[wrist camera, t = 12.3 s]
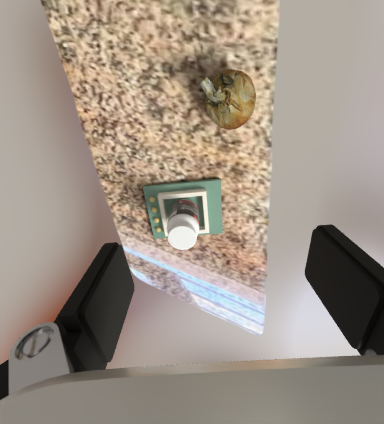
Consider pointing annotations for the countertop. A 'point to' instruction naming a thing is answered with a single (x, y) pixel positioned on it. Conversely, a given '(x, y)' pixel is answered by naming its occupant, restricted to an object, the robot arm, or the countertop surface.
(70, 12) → the countertop surface
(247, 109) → the onion
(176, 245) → the pill bottle
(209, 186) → the board
